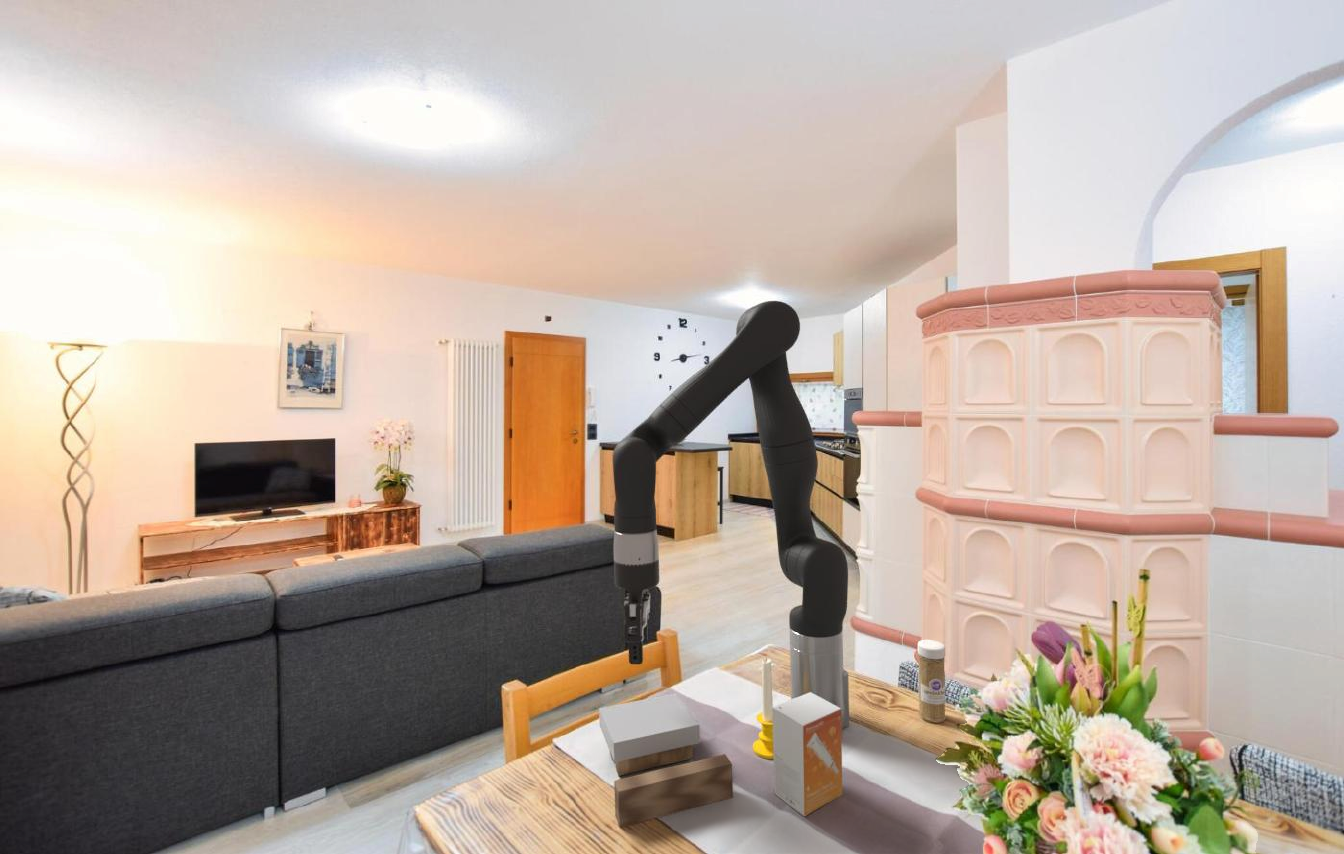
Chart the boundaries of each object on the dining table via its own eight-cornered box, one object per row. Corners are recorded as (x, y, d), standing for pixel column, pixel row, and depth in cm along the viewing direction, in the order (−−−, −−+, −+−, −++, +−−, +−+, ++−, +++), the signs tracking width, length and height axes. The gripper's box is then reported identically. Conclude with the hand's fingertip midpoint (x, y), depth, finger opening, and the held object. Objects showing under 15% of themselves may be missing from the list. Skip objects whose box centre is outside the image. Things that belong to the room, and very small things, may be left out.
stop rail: (725, 786, 87) (724, 753, 87) (732, 796, 85) (731, 763, 84) (615, 815, 82) (614, 780, 81) (619, 827, 79) (618, 791, 79)
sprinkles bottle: (928, 725, 102) (927, 650, 101) (913, 712, 106) (912, 640, 106) (951, 721, 103) (950, 647, 102) (935, 709, 107) (934, 637, 107)
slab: (677, 709, 103) (676, 692, 103) (699, 742, 93) (699, 724, 92) (599, 725, 98) (598, 708, 98) (614, 762, 88) (613, 743, 88)
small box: (804, 818, 80) (802, 725, 79) (772, 793, 85) (770, 706, 85) (844, 795, 84) (842, 707, 84) (811, 773, 90) (809, 690, 89)
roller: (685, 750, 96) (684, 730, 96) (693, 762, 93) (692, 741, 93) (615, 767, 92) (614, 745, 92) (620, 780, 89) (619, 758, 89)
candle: (759, 761, 93) (757, 665, 92) (748, 743, 98) (746, 652, 98) (789, 756, 94) (787, 662, 94) (777, 738, 99) (775, 649, 99)
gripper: (655, 568, 90) (658, 671, 90) (661, 546, 104) (663, 635, 104) (607, 568, 90) (610, 671, 90) (620, 546, 104) (622, 635, 105)
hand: (638, 652), depth 97 cm, fingers open, 8 cm apart
